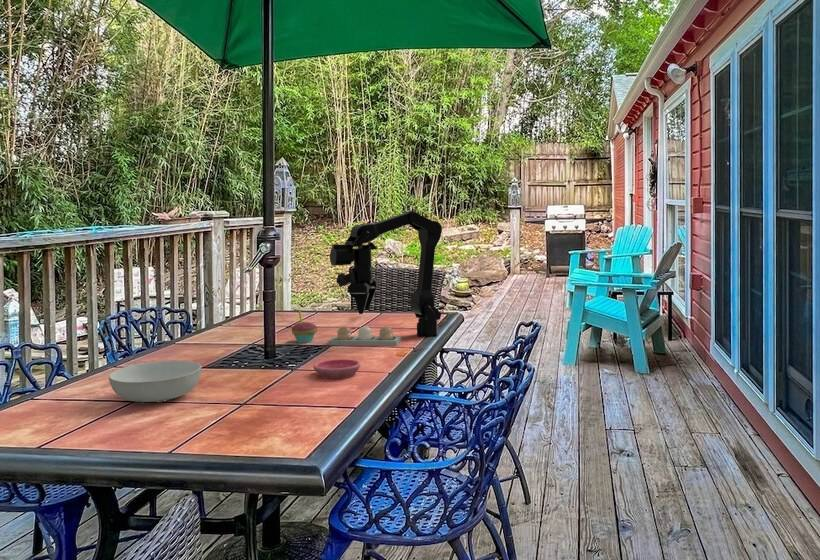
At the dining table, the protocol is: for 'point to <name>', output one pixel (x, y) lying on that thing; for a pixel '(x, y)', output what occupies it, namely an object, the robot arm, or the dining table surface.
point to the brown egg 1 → (344, 333)
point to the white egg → (364, 333)
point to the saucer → (337, 368)
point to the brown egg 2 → (386, 333)
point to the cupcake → (304, 331)
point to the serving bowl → (155, 380)
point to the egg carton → (366, 341)
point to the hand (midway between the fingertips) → (364, 311)
